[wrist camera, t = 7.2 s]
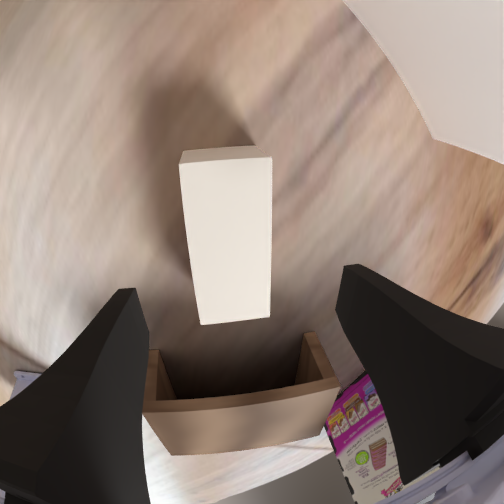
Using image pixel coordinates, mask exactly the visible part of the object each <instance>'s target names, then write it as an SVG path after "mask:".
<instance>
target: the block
mask: <svg viewBox="0 0 504 504" xmlns="http://www.w3.org/2000/svg"><path fill="white" fill-rule="evenodd" d="M179 173H180V183H181V193H182V202H183V210H184V219H185V227H186V235H187V242H188V249H189V256H190V263H191V270H192V276H193V283H194V289H195V295H196V301H197V307H198V313H199V318H200V324H201V325H207V324H217V323H226V322H234V321H242V320H250V319H258V318H265V317H270V291H271V239H272V157H271V156H270V155H268V154H267V153H266V152H264V151H263V150H261V149H260V148H259V147H257V146H256V145H254V146H234V147H219V148H206V149H195V150H185V151H183V153H182V156H181V159H180V162H179Z"/></svg>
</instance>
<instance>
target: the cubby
mask: <svg viewBox="0 0 504 504" xmlns="http://www.w3.org/2000/svg"><path fill="white" fill-rule="evenodd" d="M340 387H341V386H340V383H339V381H338V379H337V377H336V375H335V373H334V371H333V369H332V366H331V364H330V362H329V360H328V358H327V356H326V354H325V352H324V350H323V348H322V345H321V343H320V341H319V339H318V337H317V335H316V333H315V331H313V332H308V333H304V334H303V340H302V346H301V352H300V357H299V363H298V368H297V374H296V379H295V384H294V386H289V387H284V388H279V389H273V390H267V391H260V392H254V393H247V394H239V395H231V396H222V397H212V398H200V399H186V400H177V398H176V395H175V393H174V390H173V387H172V385H171V382H170V380H169V377H168V374H167V372H166V369H165V366H164V363H163V360H162V358H161V355H160V352H159V350H149V359H148V367H147V375H146V383H145V391H144V400H143V410H142V414H143V415H144V417H145V418H146V420H147V422H148V423H149V425H150V426H151V428H152V429H153V431H154V432H155V433H156V435H157V436H158V438H159V439H160V441H161V442H162V443H163V445H164V446H165V448H166V449H167V450H168V452H169V453H170V454H171V456H174V455H200V454H214V453H224V452H233V451H242V450H249V449H256V448H262V447H268V446H273V445H279V444H284V443H289V442H293V441H298V440H302V439H306V438H310V437H314V436H318V435H320V432H321V430H322V428H323V426H324V424H325V422H326V420H327V418H328V415H329V413H330V411H331V409H332V406H333V404H334V402H335V399H336V397H337V395H338V392H339V390H340Z"/></svg>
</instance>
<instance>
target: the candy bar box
mask: <svg viewBox="0 0 504 504" xmlns="http://www.w3.org/2000/svg"><path fill="white" fill-rule="evenodd" d="M324 427H325V430H326V432H327V435H328V437H329V440H330V442H331V445H332V447H333V449H334V452H335V454H336V457H337V459H338V462H339V464H340V466H341V469H342V472H343V474H344V477H345V479H346V482H347V484H348V487H349V489H350V492H351V494H352V497H353V499H354V502H355V504H374V503H376V502H378V501H381V500H383V499H385V498H387V497H389V496H391V495H394V494H396V493H398V492H400V491H402V490H404V489H406V488H407V487H409V486H411V485H413V484H415V483H417V482H419V481H420V480H422V479H424V478H426V477H427V476H429V475H431V474H432V473H434V472H436V471H437V470H439V469H440V468H441V466H438V467H437V468H435V469H434V470H432V471H430V472H429V473H427V474H425V475H423V476H422V477H420V478H418V479H416V480H414V481H413V482H411V483H409V484H407V485H405V486H404V485H403V483H402V481H401V478H400V475H399V468H398V462H397V457H396V452H395V447H394V444H393V440H392V436H391V432H390V429H389V425H388V422H387V419H386V416H385V413H384V410H383V407H382V405H381V402H380V400H379V397H378V395H377V392H376V390H375V387H374V385H373V383H372V381H371V379H370V377H369V375H368V373H367V372H366V371H365V372H364V373H363V374H362V375H361V376H360V377H359V378H358V379H357V380H356V381H355V382H354V383H353V384H352V385H350V386H349V387H348V388H347V389H346V390H345V391H344V392H343V393H341V394H340V395H339V396H338V397H337V398H336V399H335V402H334V404H333V406H332V409H331V411H330V413H329V415H328V418H327V420H326V422H325V424H324Z"/></svg>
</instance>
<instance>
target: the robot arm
mask: <svg viewBox="0 0 504 504" xmlns="http://www.w3.org/2000/svg"><path fill="white" fill-rule="evenodd" d="M335 310H336V313H337V315H338V318H339V321H340V323H341V326H342V328H343V330H344V333H345V334H346V336H347V338H348V340H349V342H350V343H351V345H352V347H353V349H354V350H355V352H356V354H357V356H358V357H359V359H360V361H361V363H362V364H363V366H364V368H365V370H366V372H367V373H368V375H369V377H370V379H371V381H372V383H373V385H374V387H375V390H376V392H377V395H378V397H379V400H380V402H381V405H382V407H383V410H384V413H385V416H386V419H387V422H388V425H389V429H390V432H391V436H392V440H393V444H394V447H395V452H396V457H397V462H398V468H399V475H400V478H401V481H402V483H403V485H404V486H405V485H407V484H409V483H411V482H413V481H414V480H416V479H418V478H420V477H422V476H423V475H425V474H427V473H429V472H430V471H432V470H434V469H435V468H437V467H438V466H441V468H440V469H439V470H437V471H436V472H434V473H432V474H431V475H429V476H427V477H426V478H424V479H422V480H420V481H419V482H417V483H415V484H413V485H411V486H409V487H407V488H406V489H404V490H402V491H400V492H398V493H396V494H394V495H391V496H389V497H387V498H385V499H383V500H381V501H378V502H376V503H374V504H416V503H418V502H420V501H421V500H423V499H425V498H426V497H428V496H429V495H431V494H433V493H435V492H436V493H435V497H434V499H433V500H431V501H429V502H427V503H425V504H504V329H502V328H498V327H494V326H489V325H486V324H483V323H480V322H477V321H474V320H471V319H468V318H465V317H462V316H460V315H457V314H455V313H452V312H450V311H448V310H445V309H443V308H441V307H439V306H437V305H435V304H432V303H431V302H429V301H427V300H425V299H423V298H421V297H419V296H417V295H415V294H413V293H411V292H410V291H408V290H406V289H404V288H403V287H401V286H399V285H397V284H395V283H394V282H392V281H390V280H388V279H387V278H385V277H383V276H381V275H380V274H378V273H376V272H374V271H372V270H370V269H369V268H367V267H364V266H362V265H360V264H354V265H346V266H344V268H343V274H342V279H341V284H340V289H339V294H338V299H337V304H336V309H335ZM148 359H149V331H148V328H147V324H146V321H145V318H144V315H143V312H142V308H141V305H140V302H139V298H138V295H137V291H136V288H125V289H118V290H117V291H116V292H115V294H114V295H113V296H112V297H111V298H110V299H109V301H108V302H107V303H106V304H105V305H104V307H103V308H102V309H101V310H100V312H99V313H98V314H97V315H96V316H95V318H94V319H93V320H92V321H91V322H90V324H89V325H88V326H87V327H86V328H85V330H84V331H83V332H82V333H81V334H80V335H79V336H78V337H77V339H76V340H75V341H74V342H73V343H72V344H71V345H70V347H69V348H68V349H67V350H66V351H65V352H64V353H63V354H62V355H61V356H60V357H59V358H58V359H57V360H56V361H55V362H54V363H53V364H52V365H51V366H50V367H49V368H48V369H47V370H46V371H45V372H44V373H43V374H38V373H30V372H22V371H14V376H15V377H16V378H17V380H16V383H15V386H14V389H13V391H12V394H11V397H10V400H9V401H8V402H6V403H5V404H3V405H2V406H0V504H151V503H150V498H149V493H148V487H147V481H146V474H145V466H144V455H143V442H142V410H143V400H144V391H145V383H146V375H147V367H148Z"/></svg>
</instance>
